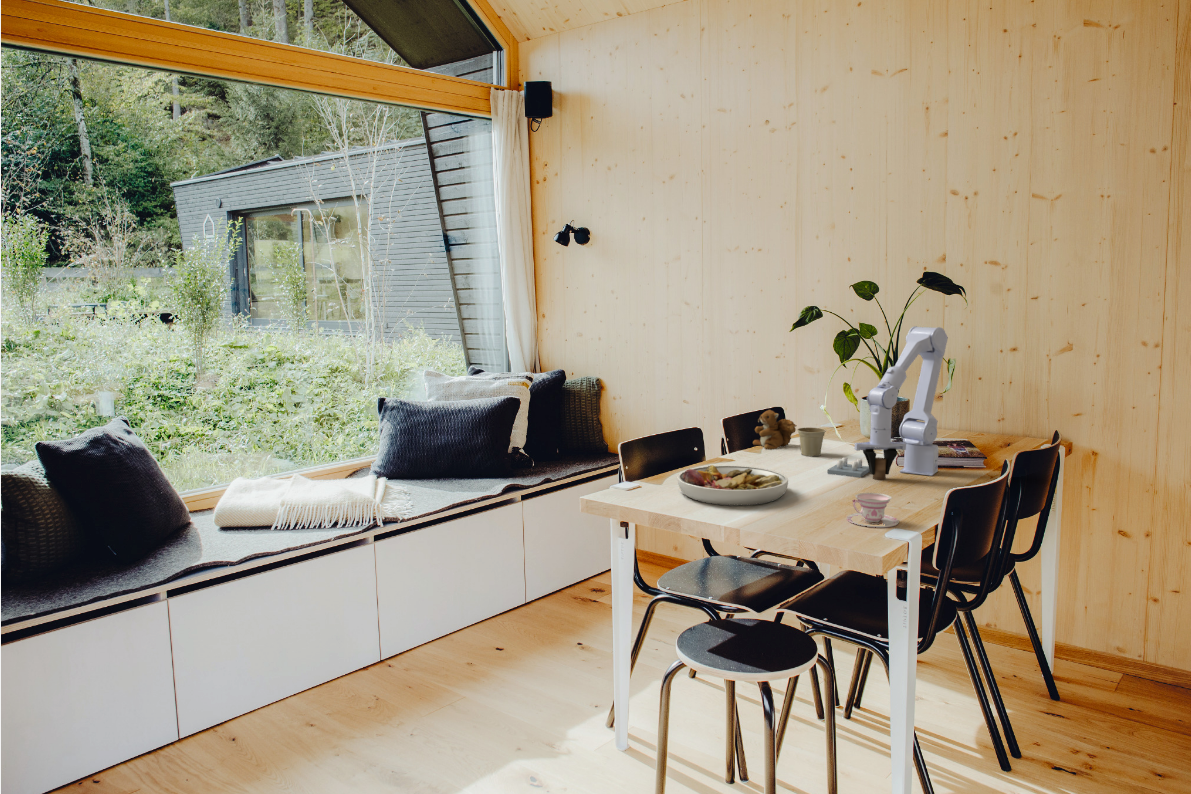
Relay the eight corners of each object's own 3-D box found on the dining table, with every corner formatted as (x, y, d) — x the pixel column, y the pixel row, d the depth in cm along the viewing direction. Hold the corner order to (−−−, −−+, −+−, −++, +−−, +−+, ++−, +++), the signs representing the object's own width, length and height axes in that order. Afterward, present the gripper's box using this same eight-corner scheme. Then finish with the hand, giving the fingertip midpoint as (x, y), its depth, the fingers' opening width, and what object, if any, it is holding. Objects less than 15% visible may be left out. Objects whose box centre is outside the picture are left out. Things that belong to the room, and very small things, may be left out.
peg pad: (871, 470, 253) (871, 458, 253) (860, 477, 244) (860, 465, 244) (839, 466, 259) (839, 455, 259) (827, 473, 250) (827, 461, 250)
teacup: (887, 514, 206) (888, 490, 205) (906, 528, 194) (907, 502, 193) (840, 515, 205) (840, 491, 205) (856, 529, 193) (857, 503, 193)
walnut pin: (886, 478, 243) (887, 458, 243) (883, 480, 240) (884, 460, 240) (874, 476, 245) (875, 457, 245) (871, 479, 242) (871, 459, 242)
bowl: (750, 478, 247) (750, 452, 246) (810, 502, 219) (810, 473, 218) (659, 488, 236) (659, 461, 235) (710, 514, 208) (711, 483, 207)
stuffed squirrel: (750, 444, 297) (751, 408, 295) (787, 443, 300) (788, 407, 298) (760, 450, 287) (761, 412, 286) (798, 448, 290) (799, 411, 288)
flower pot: (826, 458, 273) (827, 432, 271) (797, 457, 274) (798, 431, 273) (823, 452, 282) (824, 427, 281) (795, 451, 283) (796, 427, 282)
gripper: (900, 425, 245) (898, 470, 247) (851, 426, 245) (850, 471, 247) (909, 429, 238) (907, 475, 240) (859, 430, 238) (858, 476, 240)
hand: (879, 473), depth 243 cm, fingers closed on walnut pin, 4 cm apart
